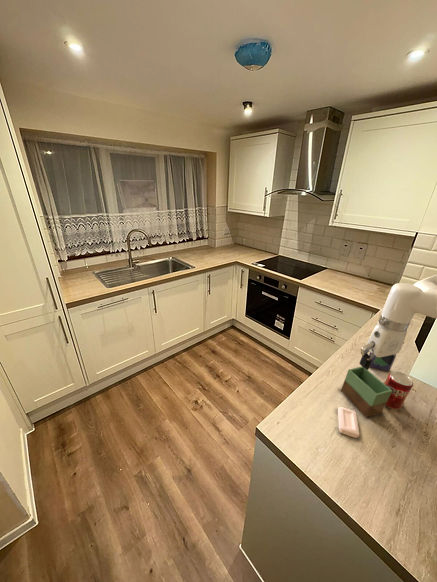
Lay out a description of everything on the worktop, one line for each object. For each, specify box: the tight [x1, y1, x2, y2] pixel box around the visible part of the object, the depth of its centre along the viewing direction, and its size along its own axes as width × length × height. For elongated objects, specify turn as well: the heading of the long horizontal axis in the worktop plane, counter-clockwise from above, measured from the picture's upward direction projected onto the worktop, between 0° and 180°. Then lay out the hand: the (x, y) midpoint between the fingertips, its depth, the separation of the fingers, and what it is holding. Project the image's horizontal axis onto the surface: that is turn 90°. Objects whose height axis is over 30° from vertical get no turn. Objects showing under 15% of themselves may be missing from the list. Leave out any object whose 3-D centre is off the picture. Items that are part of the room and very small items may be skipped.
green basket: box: [344, 365, 392, 407], centre depth 84 cm, size 12×7×6 cm, turn 17°
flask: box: [368, 349, 397, 373], centre depth 102 cm, size 9×3×11 cm, turn 66°
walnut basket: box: [340, 380, 387, 419], centre depth 86 cm, size 12×7×6 cm, turn 17°
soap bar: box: [337, 406, 360, 439], centre depth 79 cm, size 5×9×2 cm, turn 159°
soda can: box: [383, 370, 414, 410], centre depth 85 cm, size 7×7×12 cm
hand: (374, 364), depth 80 cm, fingers open, 9 cm apart
